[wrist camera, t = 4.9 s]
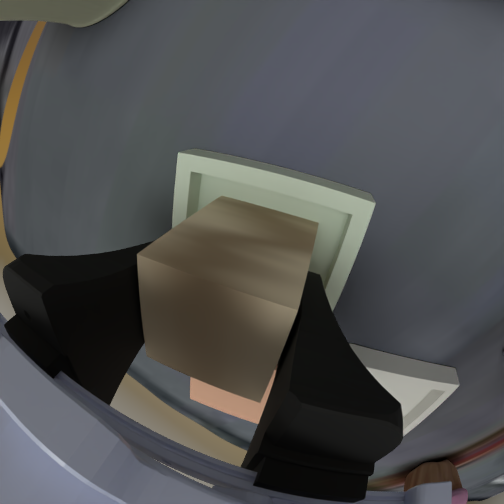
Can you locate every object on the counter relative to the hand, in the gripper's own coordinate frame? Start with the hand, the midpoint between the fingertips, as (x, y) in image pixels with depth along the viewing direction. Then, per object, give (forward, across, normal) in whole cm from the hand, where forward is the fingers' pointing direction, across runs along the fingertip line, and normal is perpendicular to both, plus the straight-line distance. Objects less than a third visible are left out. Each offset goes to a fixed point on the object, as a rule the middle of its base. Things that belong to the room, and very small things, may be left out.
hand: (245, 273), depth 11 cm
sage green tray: (+2, 0, 0) cm, 2 cm away
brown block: (+2, 0, 0) cm, 2 cm away
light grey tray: (+2, -10, +8) cm, 13 cm away
